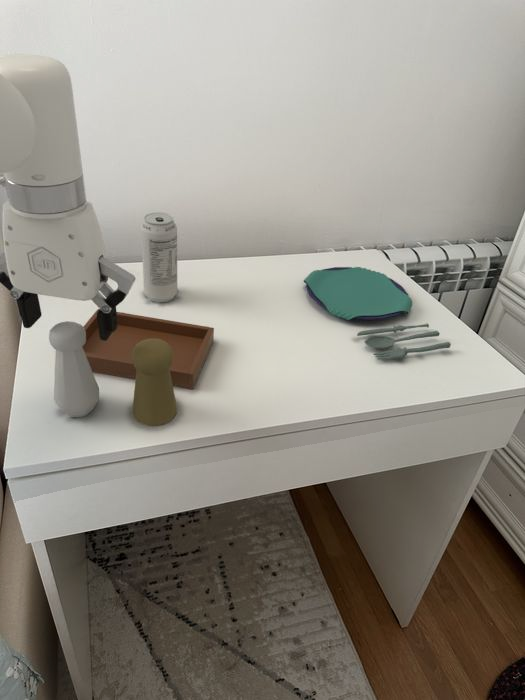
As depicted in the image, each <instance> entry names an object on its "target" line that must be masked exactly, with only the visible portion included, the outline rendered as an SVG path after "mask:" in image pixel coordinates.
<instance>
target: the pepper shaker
mask: <svg viewBox="0 0 525 700" xmlns="http://www.w3.org/2000/svg"><path fill="white" fill-rule="evenodd" d="M131 357H132V362H133V365H134V367H135V368H136V369H137V371H136V379H135V381H134V390H133V403H132V413H131V414H132V417H133V419H135V420H136V422H138V423H139V424H141V425H144V426H150V427H159V426H162V425H165V424H167V423H170V422H171V421H172V420H173V419H174V418H175V417H176V415H177V414H178V407H177V401H176V396H175V390H174V386H173V384H172V379H171V374H170V366H171V365H172V362H173V351H172V349H171V347H170V345H169V344H168V343H167V342H165V341H163V340H161V339H152V338H151V339H145V340H142V341H140V342H139V343H137V344H136V346H135V347H134V348H133V351H132V356H131Z"/></svg>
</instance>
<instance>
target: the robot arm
mask: <svg viewBox="0 0 525 700" xmlns="http://www.w3.org/2000/svg"><path fill="white" fill-rule="evenodd" d="M75 106H76V105H75V100H74V91H73V84H72V79H71V75H70V72H69V70H68V68H67V66H66V65H65V64H64V63H63V62H61V61H60V60H58V59H55V58H53V57H50V56H46V55H37V54H25V53H23V54H22V53H21V54H19V53H18V54H3V55H0V188H3V189H4V190H5V191H6V195H7V198H8V200H7V201H5V202H4V203H3V204H2V223H1V224H2V226H1V227H2V242H3V248H4V249H2V250H0V284H1V285H2V286H3V287H5V288H6V290H8V291H9V296H10V297H11V298H12V299H14V300H16V301H15V302H16V304H17V309H18V313H19V316H20V318H21V322H22V326H23V328H25V329H31V328H32V327H33V326H34V325H35V324H36V323H37V322H38V320H39V319H40V318H42V308H41V305H40V300H39V299H40V298H39V296H40V295H41V296H47V297H53V298H59V299H65V300H73V301H83V302H86V301H92V302H93V304H95V305H96V307H97V308H98V309H100V310H99V311H98V312H97V320H98V328H99V336H100V339H101V340H104V341H106V340H107V339H108V338H109V336H110V335H111V333H112V332H114V331H115V330H116V329H117V325H118V321H117V312H118V311H117V306H118V305H120V304H121V303H122V302H123V301H124V300H125V299H126V298H127V296H128V295H129V293H130V291H131V289H132V287H133V285H134V283H135V281H136V276H135V275H134V274H133V273H131V272H130V271H127V270H126V269H124V268H122V267H121V266H119V265H118V264H116V263H114V262H113V261H111V260H110V259H108V258H107V254H106V248H105V242H104V238H103V234H102V230H101V227H100V222H99V219H98V217H97V214H96V210H95V209H94V206H93V203H92V202H90V201H87V195H86V193H87V192H86V188H85V187H86V185H85V178H84V173H83V172H84V171H83V164H82V154H81V148H80V139H79V131H78V124H77V122H78V121H77V115H76V107H75ZM109 279H110V280H111V281H113V282H115V283H116V284H117V288H116V289H115V290H114V289H113V288H112V286H111V285H110V284H109V283H108V281H109Z"/></svg>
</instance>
